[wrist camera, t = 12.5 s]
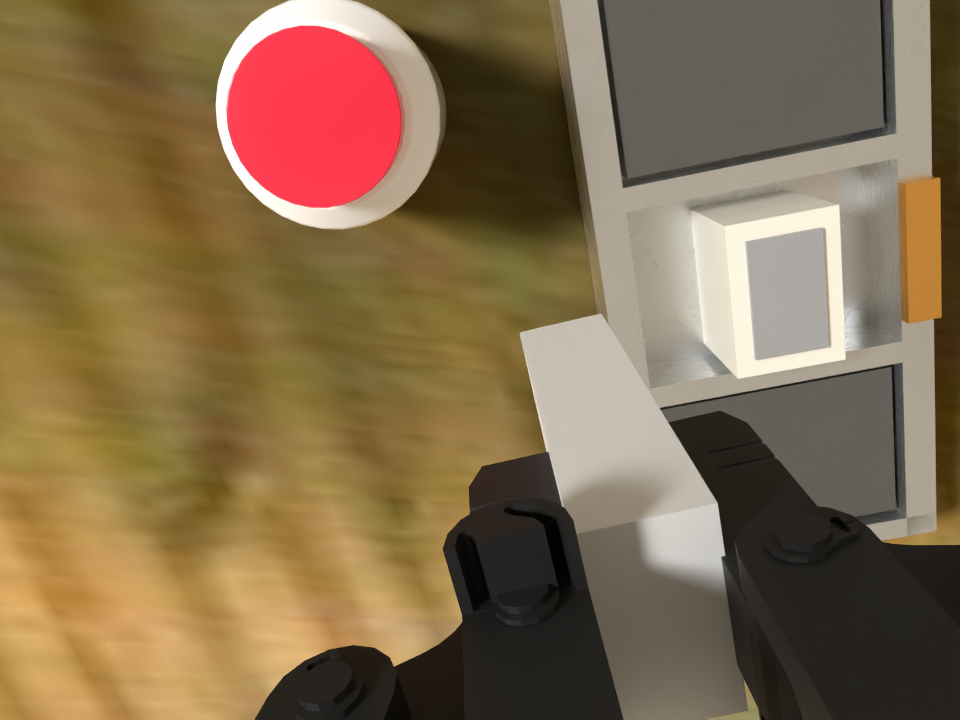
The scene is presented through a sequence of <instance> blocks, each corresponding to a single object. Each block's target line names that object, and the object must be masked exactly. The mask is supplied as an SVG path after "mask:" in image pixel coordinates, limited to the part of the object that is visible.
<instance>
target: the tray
mask: <svg viewBox="0 0 960 720" xmlns="http://www.w3.org/2000/svg"><path fill="white" fill-rule="evenodd" d="M549 6H550V13H551V19H552V26H553V32H554V38H555V45H556V51H557V58H558V64H559V71H560V77H561V84H562V90H563V96H564V103H565V109H566V116H567V122H568V129H569V135H570V142H571V148H572V154H573V161H574V167H575V174H576V180H577V187H578V193H579V200H580V206H581V212H582V219H583V225H584V232H585V238H586V245H587V251H588V258H589V264H590V271H591V277H592V283H593V290H594V296H595V303H596V309H597V315H598V314H602V315H603V317H604V319H605V320H606V322H607V324H608V325H609V327H610V328H611V330H612V332H613V333H614V335H615V337H616V338H617V340H618V342H619V343H620V345H621V346H622V348H623V350H624V351H625V353H626V355H627V356H628V358H629V359H630V361H631V363H632V364H633V366H634V368H635V369H636V371H637V373H638V374H639V376H640V377H641V379H642V381H643V382H644V384H645V386H646V387H647V389H648V390H649V392H650V394H651V395H652V397H653V399H654V400H655V402H656V403H657V405H658V407H659V408H660V410H661V412H662V413H663V415H664V417H665V418H666V420H667V421H668V422H671V421H676V420H680V419H685V418H689V417H694V416H698V415H703V414H707V413H711V412H716V411H722V412H725V413H727V414H729V415H731V416H734V417H736V418H738V419H741V420H743V421H745V422H747V423H748V424H749V425H750V426H751V428H752V429H753V430H754V431H755V432H756V434H757V435H758V436H759V437H760V438H761V439H762V442H763V444H766V445H767V447H768V448H769V449H770V450H771V451H772V453H773V454H774V455H775V459H778V460H779V461H780V462H781V463H782V464H783V466H784V467H785V468H786V469H787V470H788V472H789V473H790V474H791V475H792V476H793V478H794V479H795V480H796V481H797V482H798V484H799V485H800V486H801V487H802V488H803V489H804V491H805V492H806V493H807V494H808V495H809V497H810V498H811V499H812V500H813V501H814V503H815V504H816V505H817V506H820V507H829V508H832V509H835V510H838V511H841V512H844V513H847V514H850V515H853V516H854V517H855V518H857V519H858V520H859V521H861V522H862V523H864V524H865V525H866V526H868V527H869V528H870V529H871V530H872V531H873V532H874V533H875V534H876V536H877V537H878V538H879V539H880V540H881V541H882V540H887V539H893V538H899V537H904V536H910V535H916V534H921V533H927V532H933V531H937V528H936V449H935V370H934V319H937V318H942V301H941V194H940V177H935V176H932V134H931V55H930V0H549ZM789 190H790V191H794V192H797V193H800V194H804V195H807V196H811V197H814V198H818V199H821V200H825V201H828V202H832V203H835V204H838V205H839V211H840V235H841V259H842V283H843V307H844V331H845V355H846V360H840V361H834V362H829V363H823V364H818V365H812V366H807V367H801V368H795V369H790V370H784V371H779V372H773V373H768V374H762V375H757V376H751V377H745V378H740V379H738V378H737V377H736V376H735V375H734V374H733V373H732V372H731V371H730V370H729V369H728V368H727V367H726V366H725V365H724V364H723V363H722V362H721V360H720V359H719V358H718V357H717V356H716V355H715V354H714V353H713V352H712V351H711V350H710V349H709V348H708V347H707V346H706V345H705V344H704V337H703V328H702V318H701V308H700V298H699V288H698V279H697V269H696V259H695V249H694V239H693V230H692V220H691V210H690V209H694V208H699V207H705V206H710V205H715V204H720V203H726V202H731V201H736V200H741V199H747V198H752V197H757V196H762V195H768V194H773V193H778V192H784V191H789Z"/></svg>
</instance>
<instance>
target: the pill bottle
mask: <svg viewBox="0 0 960 720" xmlns="http://www.w3.org/2000/svg"><path fill="white" fill-rule="evenodd" d="M216 114H217V126H218V131H219V134H220V138H221V141H222V145H223V149H224V151H225V153H226V155H227V157H228V159H229V161H230V163H231V166H232V168H233V170H234V171H235V173H236V174H237V175H238V177H239V178H240V179H241V181H242V182H243V184H244V185H245V186H246V188H247V189H248V190H249V191H250V192H251V193H252V194H253V195H255V196H256V197H257V198H258V199H259V200H260V201H261V202H262V203H263V204H264V205H266V206H267V207H269V208H270V209H272V210H273V211H275V212H276V213H278V214H279V215H281V216H283V217H285V218H287V219H290V220H292V221H295V222H297V223H299V224H302V225H306V226H311V227H316V228H320V229H348V228H354V227H359V226H364V225H367V224H369V223H372V222H374V221H377V220H379V219H382V218H384V217H386V216H387V215H389V214H390V213H392V212H393V211H395V210H396V209H398V208H399V207H401V206H402V205H403V204H404V203H405V202H406V201H407V200H408V199H409V198H410V197H411V196H412V195H413V194H414V193H415V192H416V191H417V189H418V187H419V186H420V184H421V183H422V181H423V180H424V178H425V177H426V175H427V174H428V172H429V170H430V168H431V167H432V165H433V163H434V161H435V159H436V157H437V155H438V153H439V150H440V148H441V145H442V143H443V139H444V134H445V129H446V124H447V105H446V100H445V94H444V89H443V86H442V83H441V81H440V78H439V76H438V73H437V71H436V69H435V67H434V66H433V64H432V63H431V61H430V59H429V58H428V56H427V55H426V54H425V53H424V51H423V50H422V49H421V48H420V47H419V46H418V45H417V44H416V43H415V42H414V41H413V40H412V39H411V38H410V37H409V36H408V35H407V34H406V33H405V32H404V31H403V30H402V28H401V27H400V26H398V25H397V24H396V23H394V22H393V21H392V20H390V19H389V18H387V17H386V16H385V15H383V14H382V13H381V12H379V11H377V10H375V9H373V8H371V7H368V6H366V5H364V4H362V3H360V2H358V1H353V0H289V1H287V2H284V3H282V4H280V5H278V6H275V7H273V8H271V9H269V10H267V11H266V12H265V13H263V14H262V15H261V16H259V17H258V18H257V19H255V20H254V21H253V22H251V23H250V24H249V25H248V27H247V28H246V29H245V30H244V31H243V32H242V33H241V35H240V36H239V37H238V38H237V39H236V41H235V42H234V44H233V46H232V48H231V50H230V52H229V53H228V55H227V57H226V59H225V61H224V64H223V67H222V71H221V74H220V77H219V80H218V87H217V97H216Z"/></svg>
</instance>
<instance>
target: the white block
mask: <svg viewBox="0 0 960 720" xmlns="http://www.w3.org/2000/svg"><path fill="white" fill-rule="evenodd" d="M690 210H691V220H692V230H693V239H694V249H695V259H696V269H697V279H698V288H699V298H700V308H701V318H702V328H703V337H704V344H705V345H706V346H707V347H708V348H709V349H710V350H711V351H712V352H713V353H714V354H715V355H716V356H717V357H718V358H719V359H720V360H721V362H722V363H723V364H724V365H725V366H726V367H727V368H728V369H729V370H730V371H731V372H732V373H733V374H734V375H735V376H736V377H737V378H738V379H740V378H745V377H751V376H757V375H762V374H768V373H773V372H779V371H784V370H790V369H795V368H801V367H807V366H812V365H818V364H823V363H829V362H834V361H840V360H846V355H845V331H844V307H843V283H842V259H841V235H840V211H839V205H838V204H835V203H832V202H828V201H825V200H821V199H818V198H814V197H811V196H807V195H804V194H800V193H797V192H794V191H790V190H789V191H784V192H778V193H773V194H768V195H762V196H757V197H752V198H747V199H741V200H736V201H731V202H726V203H720V204H715V205H710V206H705V207H699V208H694V209H690Z"/></svg>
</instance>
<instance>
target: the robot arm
mask: <svg viewBox="0 0 960 720" xmlns="http://www.w3.org/2000/svg"><path fill="white" fill-rule="evenodd" d="M520 337H521V341H522V346H523V350H524V354H525V359H526V363H527V367H528V372H529V376H530V381H531V385H532V389H533V394H534V398H535V403H536V407H537V411H538V416H539V420H540V424H541V429H542V433H543V438H544V442H545V446H546V451H547V452H545V453H540V454H536V455H531V456H527V457H522V458H518V459H513V460H509V461H504V462H500V463H495V464H491V465H487V466H482V467H481V469H480V471H479V472H478V474H477V475H476V477H475V478H474V480H473V482H472V483H471V485H470V486H469V503H470V515H468V516H466V517H465V518H463V519H461V520H460V521H459V522H458V523H457V525H456V526H455V527H454V528H453V529H452V530H451V531H450V532H449V533H448V535H447V538H446V541H445V544H444V547H443V552H444V555H445V558H446V562H447V565H448V569H449V572H450V575H451V579H452V582H453V586H454V589H455V592H456V596H457V599H458V603H459V606H460V609H461V613H462V620H463V622H462V623H461V625H460V626H459V627H458V628H457V629H456V631H455V632H454V633H452V634H451V635H450V636H449V637H448V638H446V639H445V640H444V641H443V642H441V643H440V644H439V645H437V646H435V647H433V648H432V649H430V650H428V651H426V652H424V653H423V654H421V655H418V656H416V657H414V658H412V659H410V660H408V661H406V662H403V663H401V664H399V665H397V666H395V667H394V666H393V664H392V662H391V659H390V657H388V656H387V655H385V654H383V653H382V652H380V651H379V650H377V649H375V648H372V647H364V646H355V645H352V646H346V647H341V648H336V649H330V650H327V651H325V652H323V653H321V654H319V655H316V656H314V657H312V658H310V659H308V660H305V661H304V662H303V663H301V664H300V665H299V666H297V667H296V668H295V669H293V670H292V671H291V672H289V673H288V674H287V675H285V676H284V677H283V678H282V680H281V681H280V682H279V683H278V685H277V686H276V687H275V688H274V690H273V691H272V692H271V693H270V695H269V696H268V697H267V699H266V701H265V703H264V704H263V706H262V708H261V710H260V711H259V713H258V715H257V717H256V718H255V720H704V719H709V718H714V717H718V716H723V715H728V714H733V713H738V712H743V711H748V707H747V701H746V694H745V687H744V680H745V682H746V684H747V686H748V688H749V690H750V692H751V694H752V696H753V698H754V700H755V703H756V705H757V707H758V710H759V717H760V720H960V545H901V544H890V543H884V542H882V541H881V540H880V539H879V538H878V537H877V536H876V534H875V533H874V532H873V531H872V530H871V529H870V528H869V527H868V526H866V525H865V524H864V523H862V522H861V521H859V520H858V519H857V518H855V517H854V516H853V515H850V514H847V513H844V512H841V511H838V510H835V509H832V508H829V507H820V506H817V505H816V504H815V503H814V501H813V500H812V499H811V498H810V497H809V495H808V494H807V493H806V492H805V491H804V489H803V488H802V487H801V486H800V485H799V484H798V482H797V481H796V480H795V479H794V478H793V476H792V475H791V474H790V473H789V472H788V470H787V469H786V468H785V467H784V466H783V464H782V463H781V462H780V461H779V460H778V459H775V455H774V454H773V453H772V451H771V450H770V449H769V448H768V447H767V445H766V444H763V442H762V439H761V438H760V437H759V436H758V435H757V434H756V432H755V431H754V430H753V429H752V428H751V426H750V425H749V424H748V423H747V422H745V421H743V420H741V419H738V418H736V417H734V416H731V415H729V414H727V413H725V412H722V411H716V412H711V413H707V414H703V415H698V416H694V417H689V418H685V419H680V420H676V421H671V422H668V421H667V420H666V418H665V417H664V415H663V413H662V412H661V410H660V408H659V407H658V405H657V403H656V402H655V400H654V399H653V397H652V395H651V394H650V392H649V390H648V389H647V387H646V386H645V384H644V382H643V381H642V379H641V377H640V376H639V374H638V373H637V371H636V369H635V368H634V366H633V364H632V363H631V361H630V359H629V358H628V356H627V355H626V353H625V351H624V350H623V348H622V346H621V345H620V343H619V342H618V340H617V338H616V337H615V335H614V333H613V332H612V330H611V328H610V327H609V325H608V324H607V322H606V320H605V319H604V317H603V315H602V314H598V315H593V316H589V317H585V318H580V319H576V320H572V321H567V322H563V323H559V324H554V325H550V326H546V327H541V328H537V329H533V330H529V331H524V332H520ZM743 677H744V680H743Z"/></svg>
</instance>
